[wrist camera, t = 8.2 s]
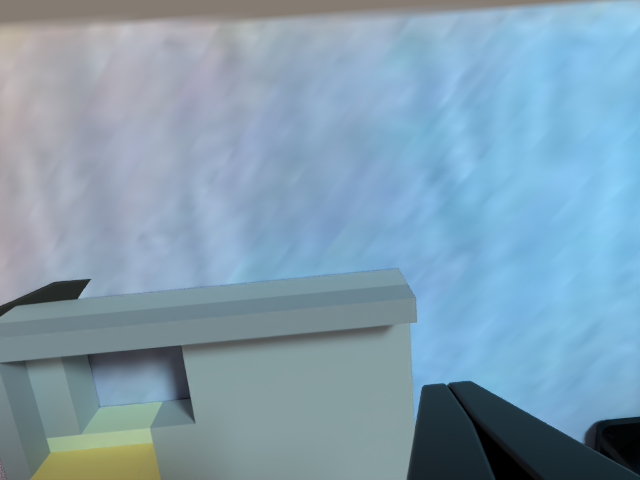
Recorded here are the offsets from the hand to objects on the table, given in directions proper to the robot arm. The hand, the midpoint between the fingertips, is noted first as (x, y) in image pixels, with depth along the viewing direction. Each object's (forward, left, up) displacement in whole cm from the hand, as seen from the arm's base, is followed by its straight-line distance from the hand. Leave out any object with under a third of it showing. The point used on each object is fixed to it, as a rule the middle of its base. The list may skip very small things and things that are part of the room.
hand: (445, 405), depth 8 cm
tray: (+7, +10, -13) cm, 18 cm away
